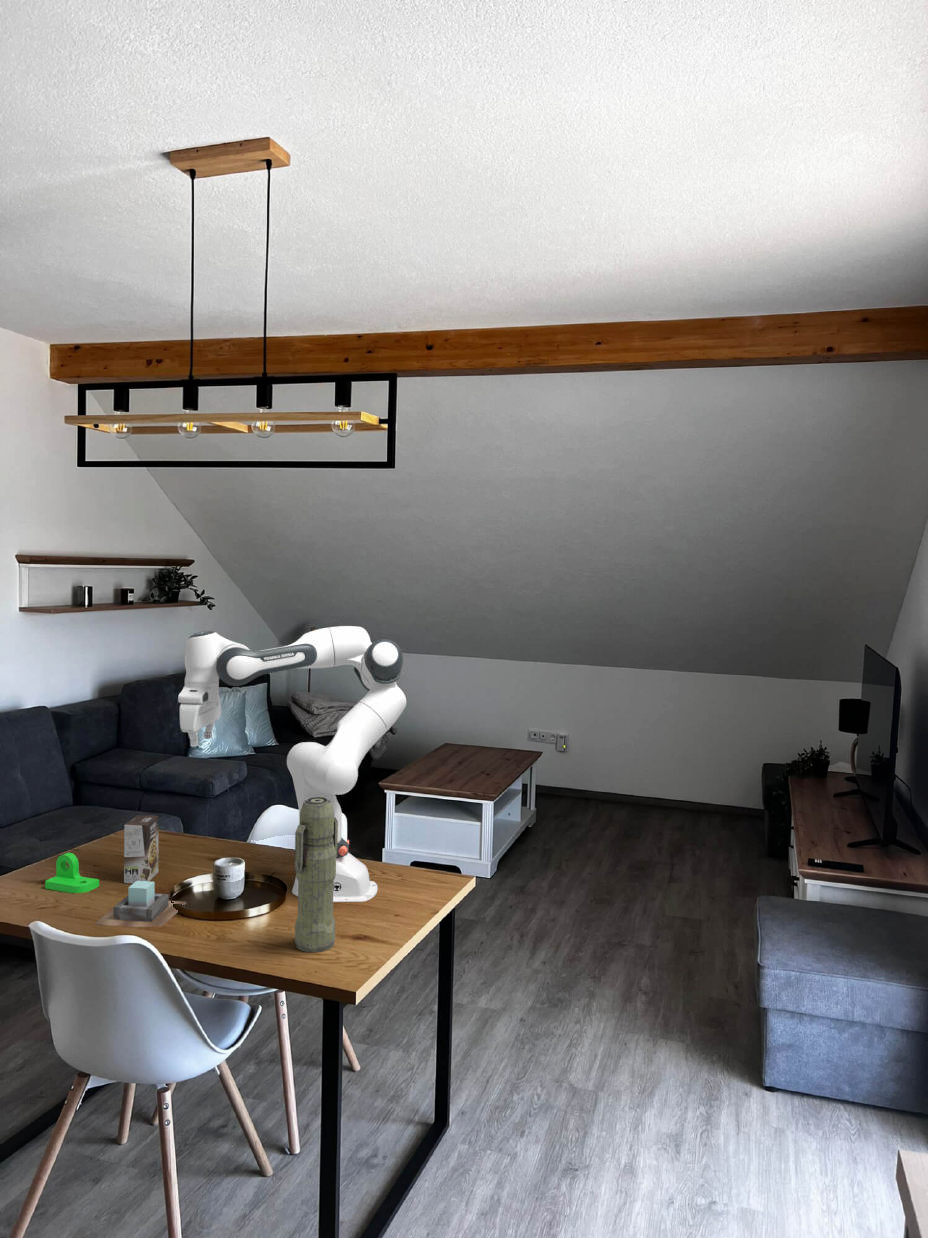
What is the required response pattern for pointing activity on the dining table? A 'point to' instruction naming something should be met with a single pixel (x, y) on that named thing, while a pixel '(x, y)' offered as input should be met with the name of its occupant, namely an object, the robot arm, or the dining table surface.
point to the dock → (141, 913)
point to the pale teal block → (141, 893)
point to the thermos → (315, 875)
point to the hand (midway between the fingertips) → (201, 742)
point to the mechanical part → (70, 877)
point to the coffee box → (141, 848)
